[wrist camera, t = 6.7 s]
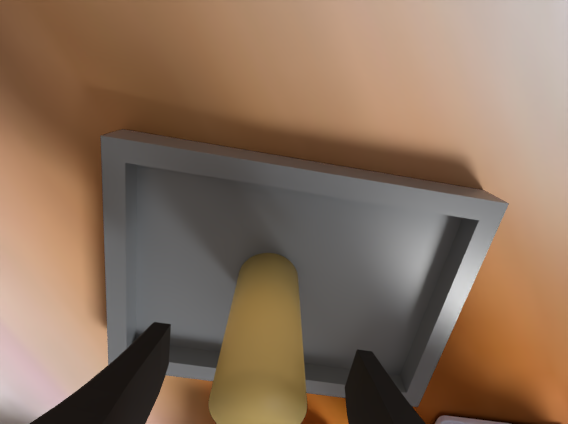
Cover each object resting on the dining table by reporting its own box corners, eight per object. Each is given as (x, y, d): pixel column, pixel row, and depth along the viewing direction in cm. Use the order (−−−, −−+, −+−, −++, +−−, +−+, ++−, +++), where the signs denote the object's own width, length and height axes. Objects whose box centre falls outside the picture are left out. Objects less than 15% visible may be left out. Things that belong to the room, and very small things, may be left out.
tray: (483, 189, 17) (508, 203, 15) (406, 378, 21) (417, 407, 20) (122, 129, 16) (100, 135, 14) (124, 341, 20) (108, 367, 18)
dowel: (303, 257, 17) (316, 376, 10) (292, 307, 18) (297, 445, 11) (242, 248, 17) (213, 363, 10) (235, 299, 18) (204, 434, 11)
